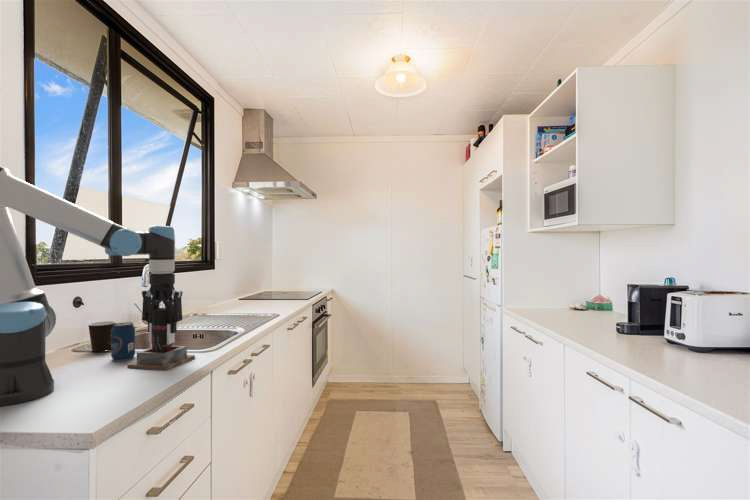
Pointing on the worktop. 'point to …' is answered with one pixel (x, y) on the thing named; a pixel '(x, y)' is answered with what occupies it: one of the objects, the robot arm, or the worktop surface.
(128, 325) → the soda can
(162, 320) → the deodorant
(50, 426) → the worktop surface
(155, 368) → the socket
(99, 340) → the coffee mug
